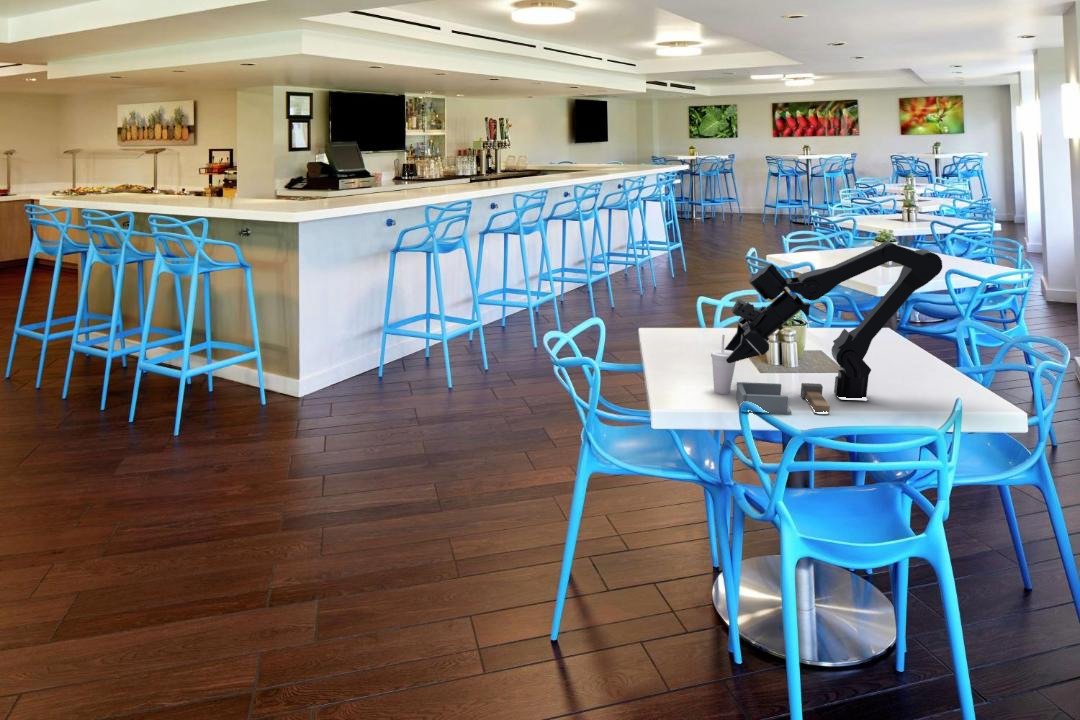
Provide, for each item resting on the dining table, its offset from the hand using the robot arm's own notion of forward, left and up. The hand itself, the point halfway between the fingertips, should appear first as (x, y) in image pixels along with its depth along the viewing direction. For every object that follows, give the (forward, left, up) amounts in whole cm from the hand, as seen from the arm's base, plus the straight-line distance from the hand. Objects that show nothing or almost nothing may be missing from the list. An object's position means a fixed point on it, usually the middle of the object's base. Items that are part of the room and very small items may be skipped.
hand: (726, 357), depth 203 cm
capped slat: (-20, +9, -9) cm, 24 cm away
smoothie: (0, 0, -9) cm, 9 cm away
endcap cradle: (-8, +10, -9) cm, 16 cm away
